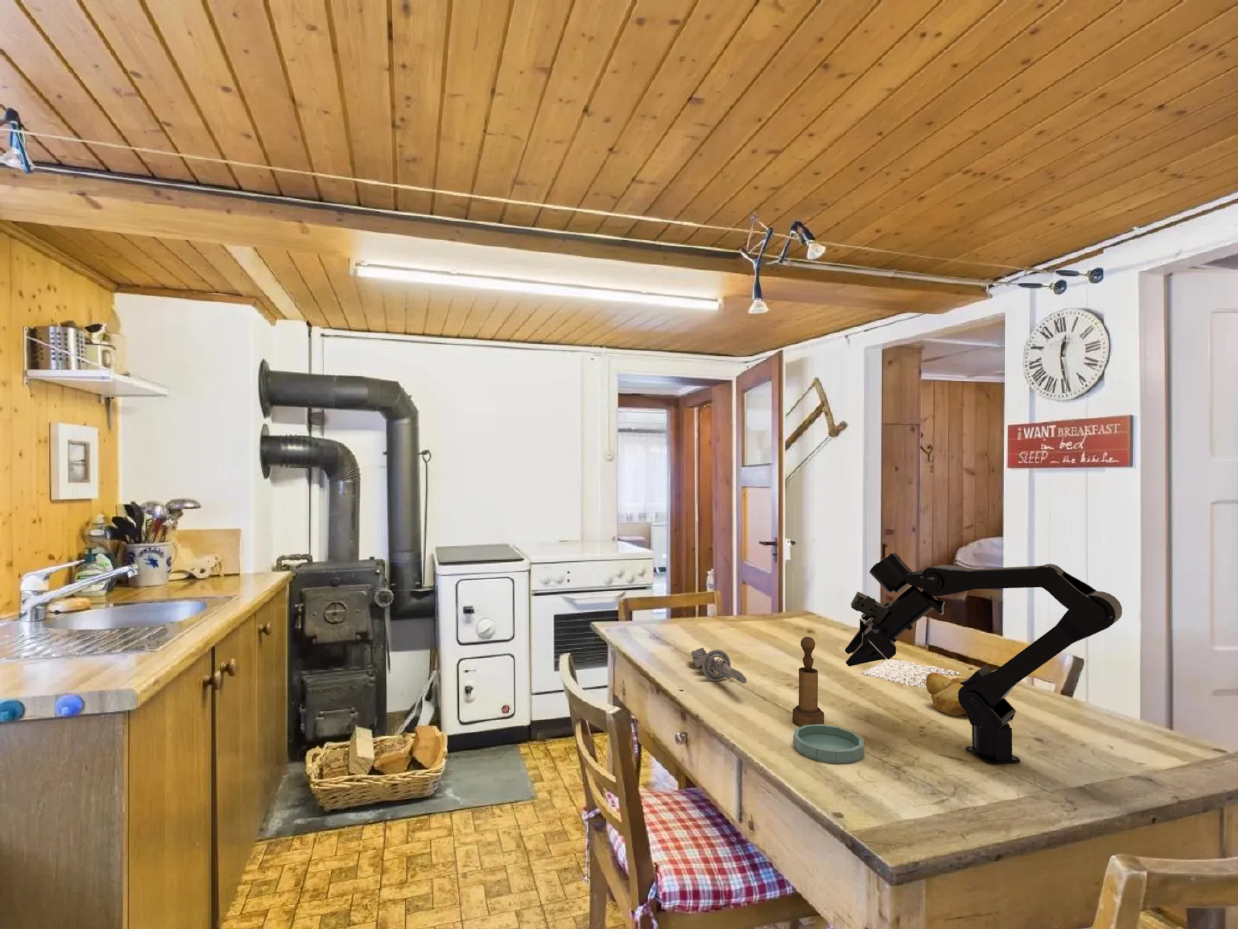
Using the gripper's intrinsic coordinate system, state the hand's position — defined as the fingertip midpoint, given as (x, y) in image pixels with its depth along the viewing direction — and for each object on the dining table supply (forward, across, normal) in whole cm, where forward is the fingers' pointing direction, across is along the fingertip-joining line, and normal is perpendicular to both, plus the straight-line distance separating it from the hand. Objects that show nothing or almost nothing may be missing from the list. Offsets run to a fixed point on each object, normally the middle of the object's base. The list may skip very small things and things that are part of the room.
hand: (846, 658), depth 131 cm
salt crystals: (-2, -43, +23) cm, 49 cm away
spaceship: (+33, -20, -11) cm, 40 cm away
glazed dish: (+12, +14, +8) cm, 20 cm away
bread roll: (-8, -18, +27) cm, 33 cm away
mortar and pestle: (+16, +1, +5) cm, 16 cm away
